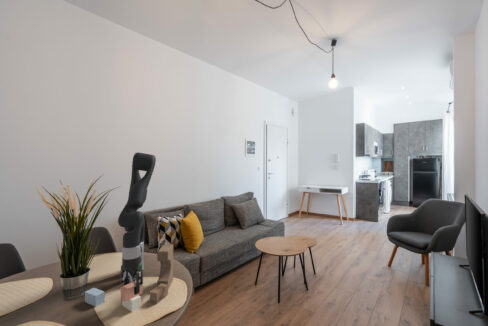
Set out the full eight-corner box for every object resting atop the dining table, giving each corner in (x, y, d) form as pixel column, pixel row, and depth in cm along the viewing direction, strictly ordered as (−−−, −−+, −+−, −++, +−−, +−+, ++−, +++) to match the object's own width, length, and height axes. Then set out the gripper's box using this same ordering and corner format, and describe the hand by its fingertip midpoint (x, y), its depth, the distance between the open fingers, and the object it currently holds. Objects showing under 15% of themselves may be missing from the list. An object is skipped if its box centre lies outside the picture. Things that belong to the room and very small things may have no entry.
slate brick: (85, 302, 107) (85, 291, 107) (93, 297, 110) (93, 287, 110) (96, 307, 103) (96, 296, 103) (104, 302, 107) (104, 291, 107)
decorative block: (167, 290, 117) (167, 251, 116) (156, 290, 116) (156, 251, 116) (173, 279, 128) (173, 243, 127) (163, 279, 127) (163, 243, 127)
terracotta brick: (137, 290, 108) (137, 279, 108) (142, 293, 106) (142, 282, 106) (120, 298, 102) (120, 287, 102) (125, 301, 99) (125, 290, 99)
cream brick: (122, 305, 104) (122, 294, 104) (130, 301, 108) (130, 290, 108) (132, 312, 100) (132, 300, 100) (140, 307, 103) (140, 296, 103)
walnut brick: (156, 304, 106) (157, 293, 106) (149, 302, 107) (149, 291, 107) (167, 294, 113) (167, 284, 113) (161, 293, 115) (161, 283, 115)
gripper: (148, 256, 103) (148, 292, 103) (130, 249, 111) (130, 282, 111) (132, 262, 97) (132, 300, 97) (115, 254, 105) (115, 289, 105)
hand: (131, 290), depth 104 cm, fingers open, 8 cm apart
